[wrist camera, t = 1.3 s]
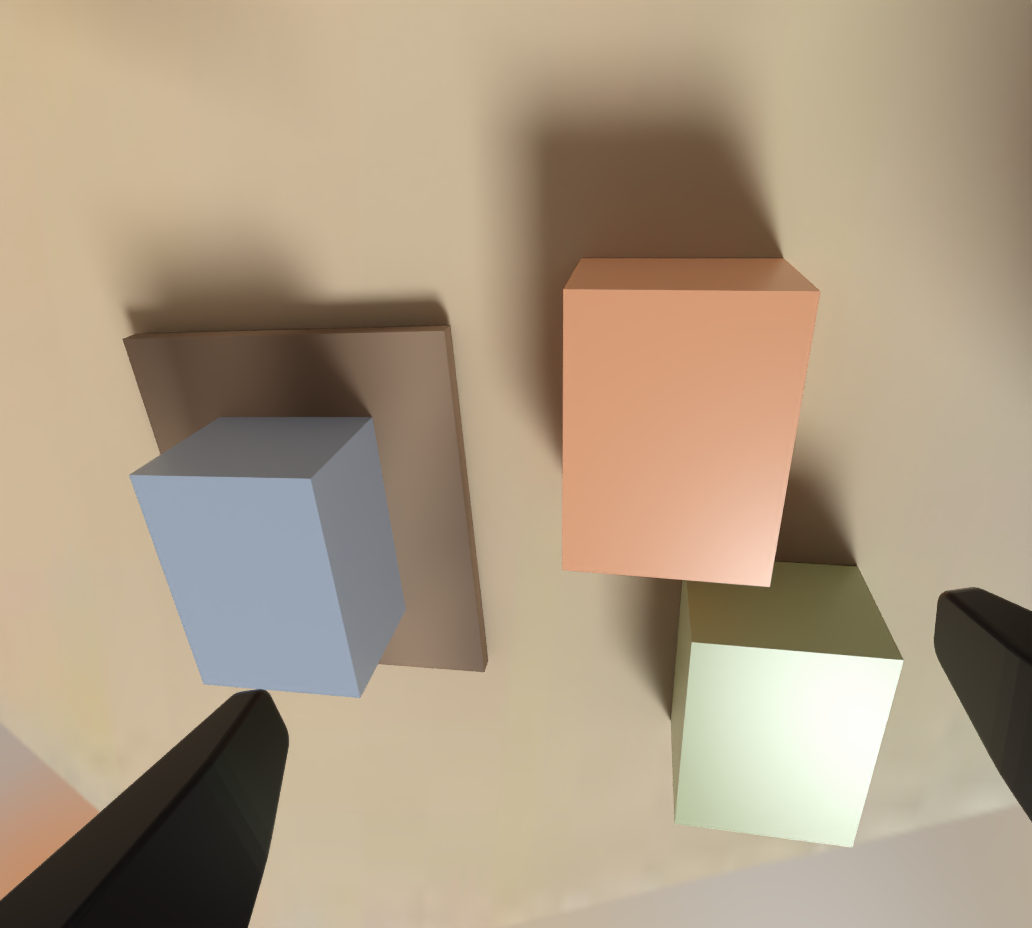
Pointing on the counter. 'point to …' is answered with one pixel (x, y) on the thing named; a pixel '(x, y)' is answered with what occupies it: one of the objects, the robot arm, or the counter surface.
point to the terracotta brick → (681, 414)
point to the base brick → (277, 551)
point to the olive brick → (780, 703)
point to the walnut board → (399, 434)
